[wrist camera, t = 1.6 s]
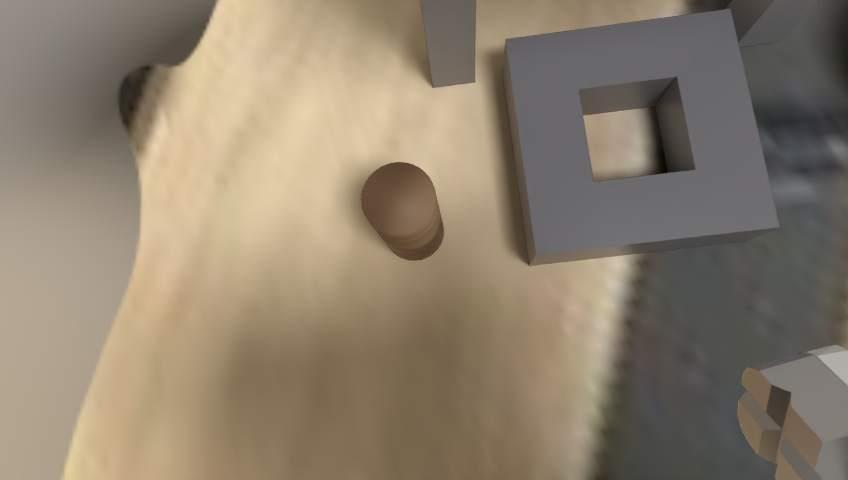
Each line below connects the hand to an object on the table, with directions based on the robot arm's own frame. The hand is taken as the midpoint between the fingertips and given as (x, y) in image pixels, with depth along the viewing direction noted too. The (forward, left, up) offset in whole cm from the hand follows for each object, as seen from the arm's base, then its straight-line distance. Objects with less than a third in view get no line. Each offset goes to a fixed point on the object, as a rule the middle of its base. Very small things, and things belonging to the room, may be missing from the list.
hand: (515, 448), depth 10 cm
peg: (+8, -7, -29) cm, 31 cm away
